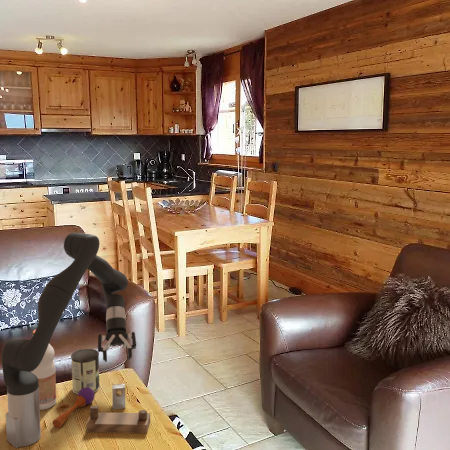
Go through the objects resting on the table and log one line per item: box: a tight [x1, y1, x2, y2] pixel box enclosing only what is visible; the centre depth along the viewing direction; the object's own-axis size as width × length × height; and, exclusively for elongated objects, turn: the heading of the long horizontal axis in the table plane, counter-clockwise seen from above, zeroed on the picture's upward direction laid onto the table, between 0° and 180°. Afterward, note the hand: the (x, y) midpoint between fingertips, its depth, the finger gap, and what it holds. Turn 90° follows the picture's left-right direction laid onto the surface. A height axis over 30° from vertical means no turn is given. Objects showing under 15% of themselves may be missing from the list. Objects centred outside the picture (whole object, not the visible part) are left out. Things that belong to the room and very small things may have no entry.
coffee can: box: [70, 348, 100, 395], centre depth 190 cm, size 10×10×14 cm
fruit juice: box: [31, 329, 57, 411], centre depth 177 cm, size 9×9×28 cm
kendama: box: [52, 387, 96, 429], centre depth 174 cm, size 6×6×20 cm
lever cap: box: [111, 383, 126, 410], centre depth 178 cm, size 4×3×8 cm
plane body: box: [85, 405, 151, 434], centre depth 166 cm, size 20×7×7 cm, turn 91°
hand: (117, 360), depth 186 cm, fingers open, 8 cm apart
